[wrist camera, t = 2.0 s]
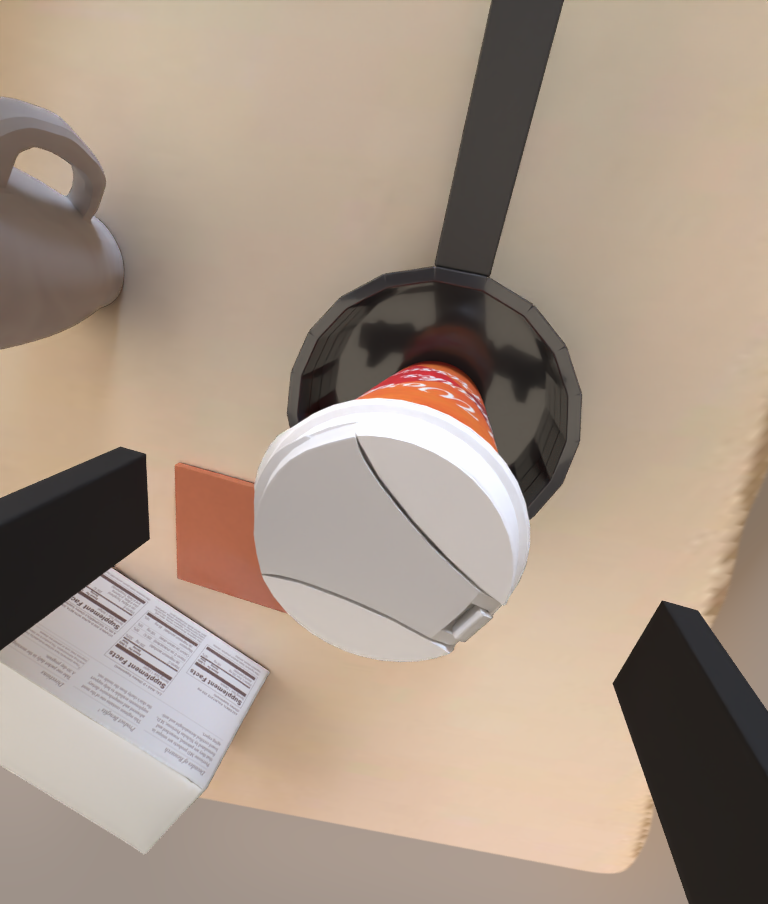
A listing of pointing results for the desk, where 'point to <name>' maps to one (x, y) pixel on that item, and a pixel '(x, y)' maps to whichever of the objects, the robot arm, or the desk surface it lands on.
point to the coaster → (218, 535)
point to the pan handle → (496, 130)
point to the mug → (50, 232)
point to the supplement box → (122, 707)
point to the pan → (453, 362)
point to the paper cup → (392, 518)
